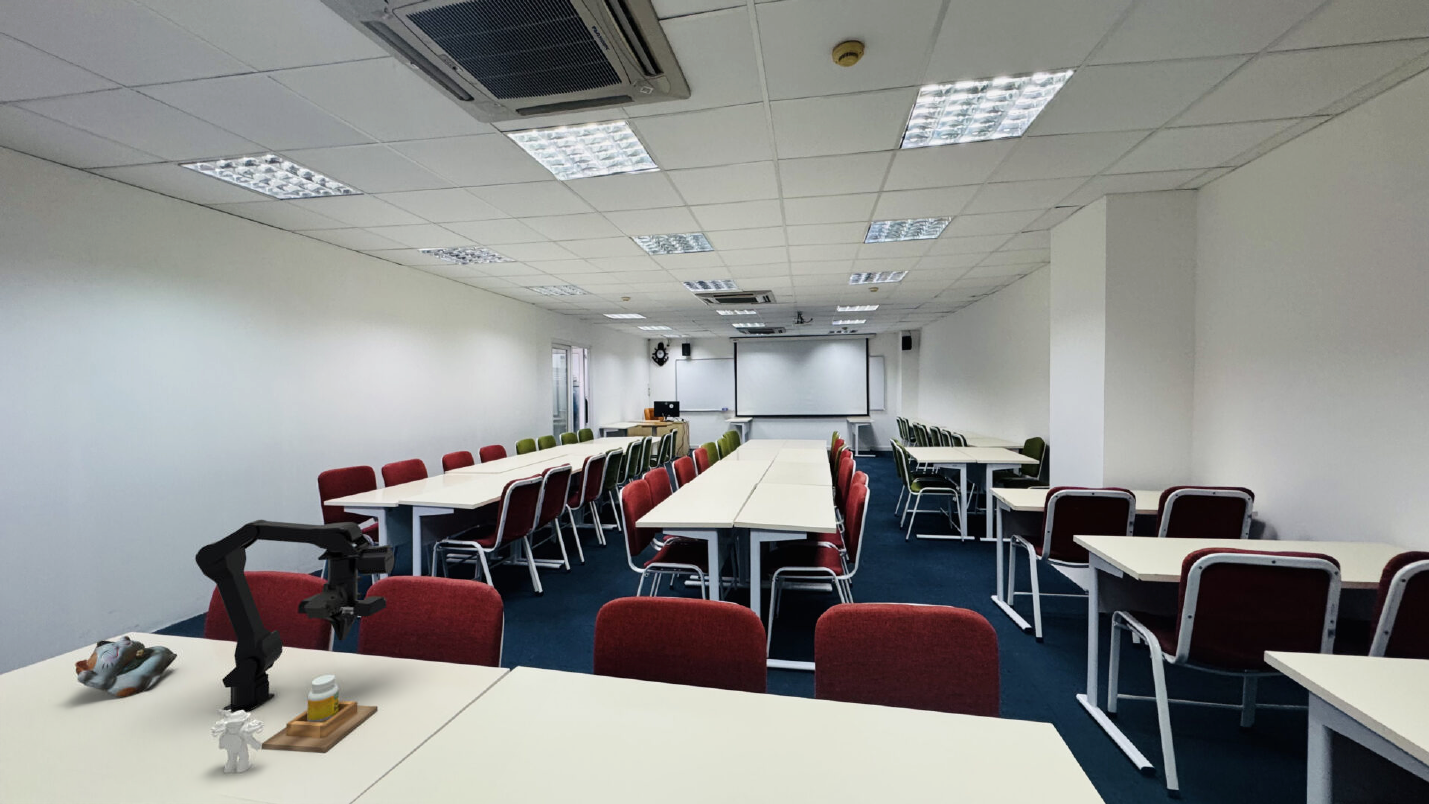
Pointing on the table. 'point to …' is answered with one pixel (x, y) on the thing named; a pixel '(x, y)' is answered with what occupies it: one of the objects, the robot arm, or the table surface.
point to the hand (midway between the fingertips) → (342, 640)
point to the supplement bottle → (323, 699)
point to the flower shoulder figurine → (237, 738)
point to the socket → (320, 729)
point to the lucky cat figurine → (124, 666)
